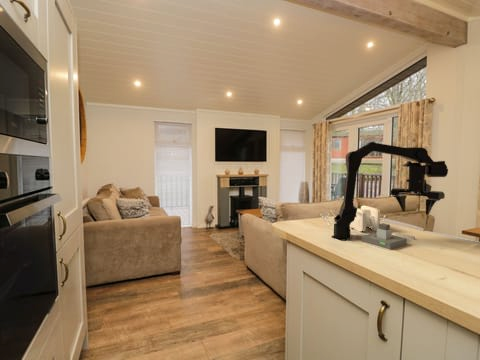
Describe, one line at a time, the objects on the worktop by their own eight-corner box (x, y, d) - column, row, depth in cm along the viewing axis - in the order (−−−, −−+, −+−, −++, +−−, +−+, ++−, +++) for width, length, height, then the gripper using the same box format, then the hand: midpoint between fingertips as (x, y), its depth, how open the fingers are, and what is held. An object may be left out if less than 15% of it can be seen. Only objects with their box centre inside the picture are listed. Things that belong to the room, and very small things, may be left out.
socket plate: (361, 242, 110) (362, 235, 110) (378, 238, 116) (378, 231, 116) (389, 250, 100) (390, 243, 100) (406, 245, 106) (406, 238, 106)
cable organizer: (381, 233, 124) (382, 209, 124) (361, 234, 123) (361, 210, 122) (363, 225, 139) (363, 204, 138) (344, 226, 138) (345, 205, 137)
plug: (376, 242, 109) (376, 223, 108) (381, 240, 111) (382, 222, 110) (385, 244, 106) (386, 225, 105) (391, 243, 108) (391, 224, 107)
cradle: (386, 238, 116) (386, 234, 116) (396, 235, 120) (396, 232, 120) (405, 243, 109) (405, 239, 109) (415, 240, 113) (415, 236, 113)
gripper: (451, 177, 105) (449, 214, 106) (403, 175, 121) (402, 208, 122) (438, 178, 99) (437, 218, 100) (390, 176, 115) (389, 210, 116)
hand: (415, 213), depth 110 cm, fingers open, 9 cm apart
